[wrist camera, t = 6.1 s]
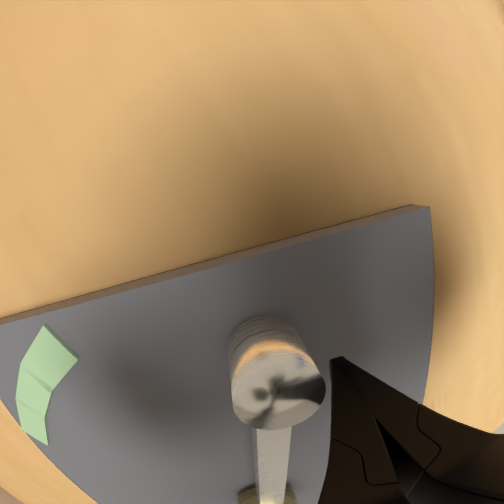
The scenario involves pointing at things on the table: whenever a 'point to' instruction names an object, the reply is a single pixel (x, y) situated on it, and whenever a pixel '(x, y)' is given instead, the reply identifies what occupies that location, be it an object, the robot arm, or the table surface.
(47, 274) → the table surface
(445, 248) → the table surface
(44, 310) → the dial board
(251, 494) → the lever
